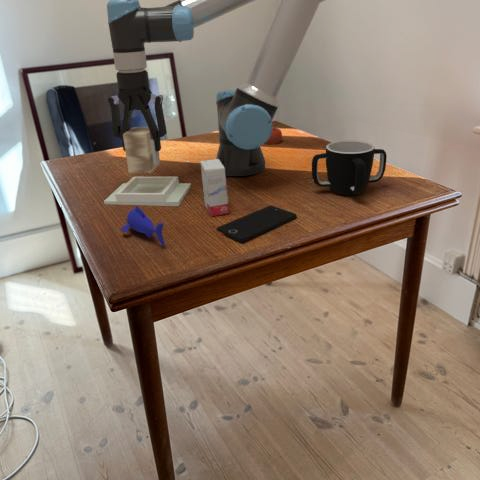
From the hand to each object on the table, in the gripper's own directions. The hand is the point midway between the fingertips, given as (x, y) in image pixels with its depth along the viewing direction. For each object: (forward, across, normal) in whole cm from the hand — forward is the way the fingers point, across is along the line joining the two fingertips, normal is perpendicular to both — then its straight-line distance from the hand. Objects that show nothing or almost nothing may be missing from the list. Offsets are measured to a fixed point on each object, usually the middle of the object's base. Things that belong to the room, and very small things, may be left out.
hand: (144, 162), depth 125 cm
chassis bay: (+10, 0, 0) cm, 10 cm away
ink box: (+10, -20, +8) cm, 24 cm away
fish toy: (+10, -8, +24) cm, 27 cm away
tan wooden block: (+1, 0, 0) cm, 1 cm away
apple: (+10, -29, -49) cm, 58 cm away
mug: (+9, -53, -6) cm, 54 cm away
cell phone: (+10, -32, +16) cm, 37 cm away
